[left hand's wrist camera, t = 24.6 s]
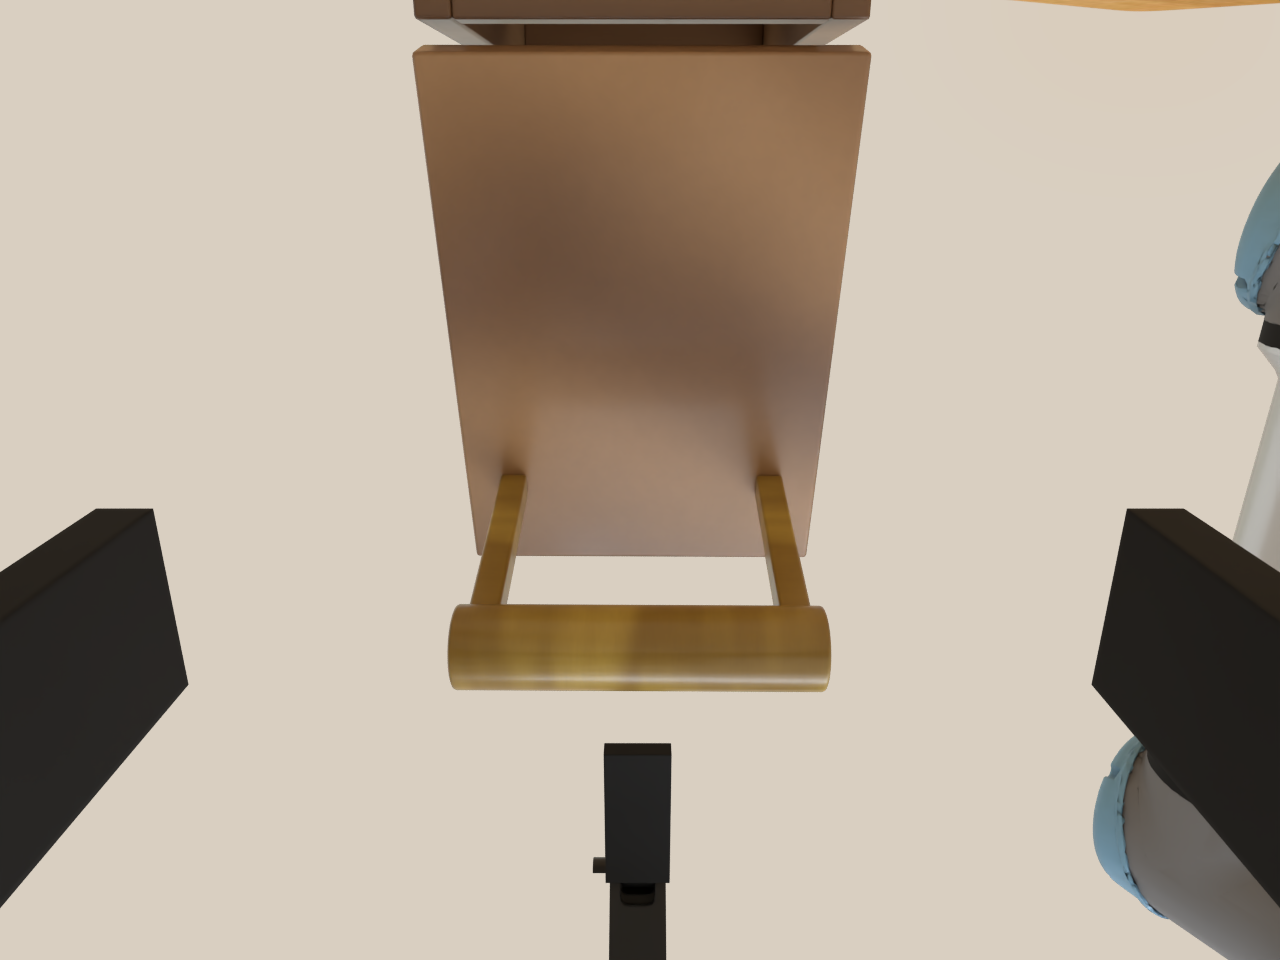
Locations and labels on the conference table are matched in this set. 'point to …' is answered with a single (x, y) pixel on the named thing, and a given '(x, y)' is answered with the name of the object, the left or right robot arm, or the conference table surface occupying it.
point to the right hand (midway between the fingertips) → (637, 875)
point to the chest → (642, 21)
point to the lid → (641, 340)
